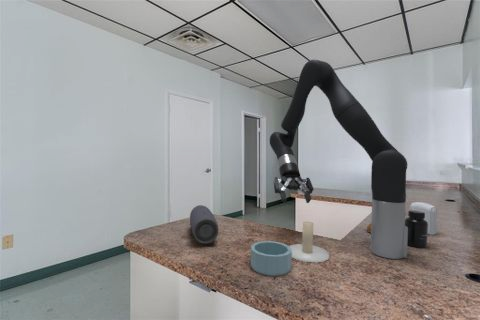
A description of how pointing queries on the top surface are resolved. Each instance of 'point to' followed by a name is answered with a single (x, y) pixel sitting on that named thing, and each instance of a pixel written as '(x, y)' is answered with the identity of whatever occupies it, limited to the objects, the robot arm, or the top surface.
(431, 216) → the photo printer
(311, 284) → the top surface
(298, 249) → the lid
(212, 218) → the bluetooth speaker
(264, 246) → the bowl
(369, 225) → the pastry
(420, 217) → the supplement bottle
